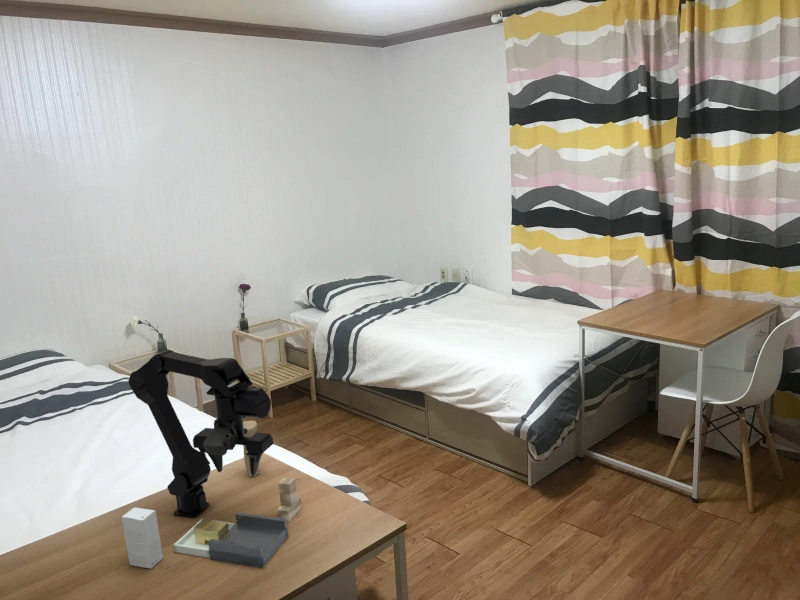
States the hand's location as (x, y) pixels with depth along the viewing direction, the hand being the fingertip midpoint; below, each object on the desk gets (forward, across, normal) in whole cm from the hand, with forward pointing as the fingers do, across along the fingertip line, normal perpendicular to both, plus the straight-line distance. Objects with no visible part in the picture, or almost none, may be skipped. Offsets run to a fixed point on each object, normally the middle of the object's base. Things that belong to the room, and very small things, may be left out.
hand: (236, 473), depth 152 cm
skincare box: (+13, -13, -19) cm, 27 cm away
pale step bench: (+13, +10, +6) cm, 17 cm away
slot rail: (+13, +8, -9) cm, 18 cm away
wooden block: (+10, -3, -9) cm, 14 cm away
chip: (+11, -1, -9) cm, 14 cm away
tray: (+13, -4, -9) cm, 16 cm away
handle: (+13, -10, +22) cm, 28 cm away
